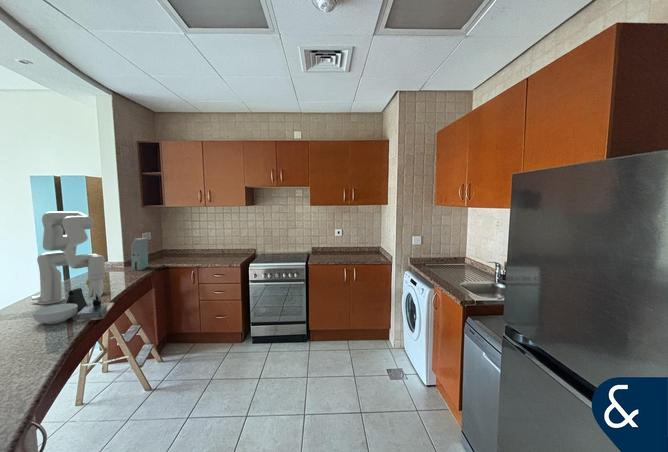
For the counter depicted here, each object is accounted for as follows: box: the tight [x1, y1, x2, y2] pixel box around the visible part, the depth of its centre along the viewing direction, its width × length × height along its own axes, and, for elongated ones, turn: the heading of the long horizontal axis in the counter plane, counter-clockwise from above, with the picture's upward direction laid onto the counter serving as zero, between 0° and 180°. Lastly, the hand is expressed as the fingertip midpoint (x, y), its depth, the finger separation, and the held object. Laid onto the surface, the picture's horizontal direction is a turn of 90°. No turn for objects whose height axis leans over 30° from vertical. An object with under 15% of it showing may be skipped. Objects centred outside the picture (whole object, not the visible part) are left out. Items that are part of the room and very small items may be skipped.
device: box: [130, 237, 149, 271], centre depth 279 cm, size 16×8×30 cm, turn 12°
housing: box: [76, 305, 107, 321], centre depth 156 cm, size 10×12×3 cm
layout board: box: [76, 302, 115, 323], centre depth 164 cm, size 11×26×1 cm, turn 27°
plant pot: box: [85, 278, 106, 290], centre depth 200 cm, size 10×10×10 cm
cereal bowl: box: [32, 303, 78, 325], centre depth 150 cm, size 17×17×7 cm
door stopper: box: [65, 287, 88, 312], centre depth 167 cm, size 9×6×12 cm, turn 93°
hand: (97, 307), depth 163 cm, fingers closed
